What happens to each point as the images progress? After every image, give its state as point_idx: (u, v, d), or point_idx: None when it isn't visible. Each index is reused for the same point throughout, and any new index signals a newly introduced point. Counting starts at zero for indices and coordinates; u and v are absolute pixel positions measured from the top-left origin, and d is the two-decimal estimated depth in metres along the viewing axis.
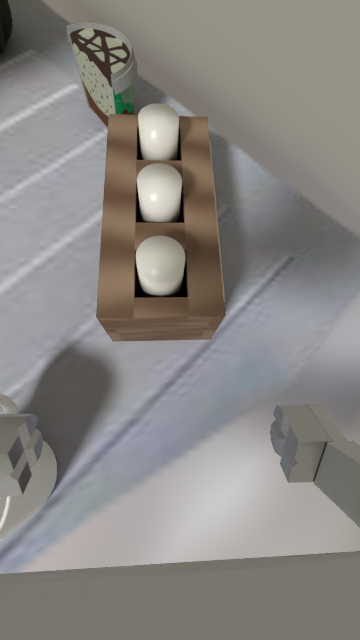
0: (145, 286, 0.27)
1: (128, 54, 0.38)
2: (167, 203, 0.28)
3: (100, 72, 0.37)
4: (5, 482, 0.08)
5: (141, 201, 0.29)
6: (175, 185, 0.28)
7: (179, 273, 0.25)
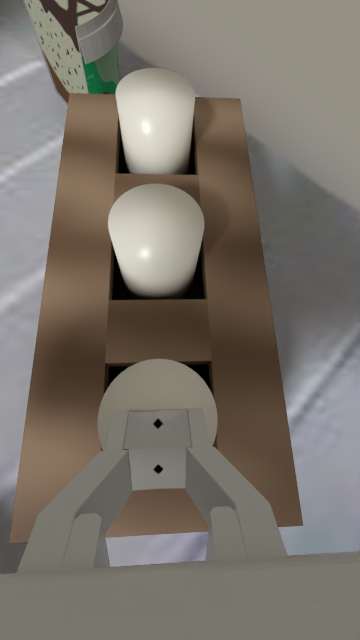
0: None
1: (108, 0, 0.23)
2: (173, 269, 0.13)
3: (60, 27, 0.23)
4: (146, 476, 0.08)
5: (119, 261, 0.14)
6: (190, 232, 0.13)
7: None
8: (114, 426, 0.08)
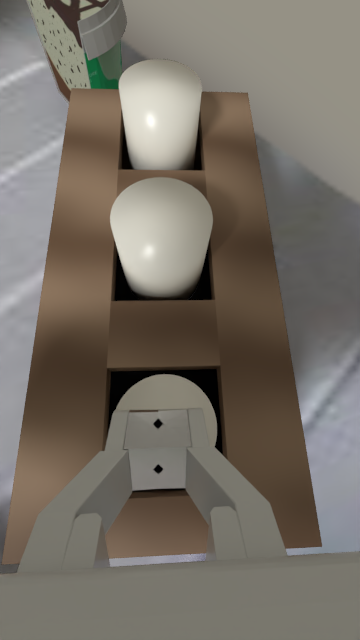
0: None
1: None
2: (179, 268, 0.12)
3: (63, 24, 0.22)
4: (146, 476, 0.08)
5: (122, 259, 0.13)
6: (198, 227, 0.12)
7: None
8: (114, 426, 0.08)
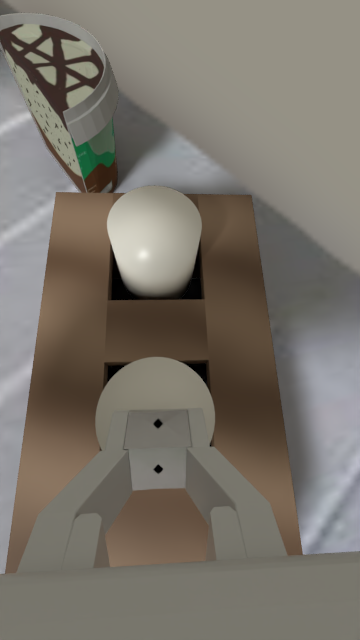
0: None
1: (101, 71, 0.21)
2: None
3: (48, 103, 0.20)
4: (146, 476, 0.08)
5: None
6: None
7: None
8: (114, 426, 0.08)
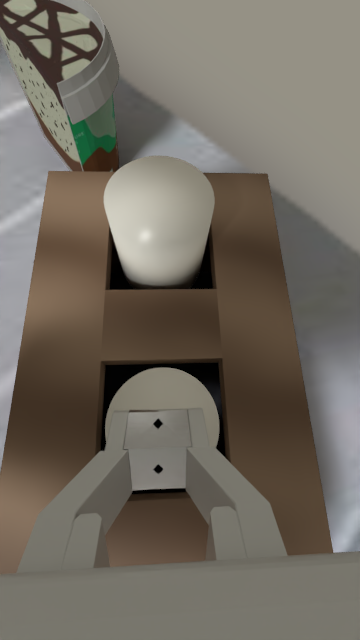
0: None
1: (100, 43, 0.19)
2: None
3: (42, 79, 0.18)
4: (146, 476, 0.08)
5: None
6: None
7: None
8: (114, 426, 0.08)
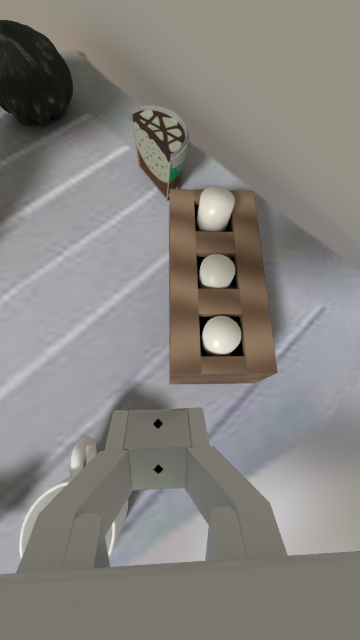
0: (207, 352, 0.35)
1: (183, 133, 0.44)
2: (223, 286, 0.36)
3: (159, 148, 0.43)
4: (146, 476, 0.08)
5: (202, 282, 0.37)
6: (230, 273, 0.36)
7: (236, 346, 0.33)
8: (115, 426, 0.08)
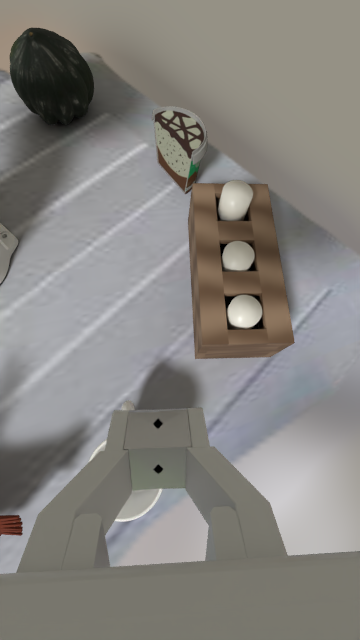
0: (231, 327, 0.39)
1: (201, 132, 0.48)
2: (244, 269, 0.40)
3: (180, 146, 0.48)
4: (146, 476, 0.08)
5: (224, 266, 0.41)
6: (250, 257, 0.40)
7: None
8: (114, 426, 0.08)
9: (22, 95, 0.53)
